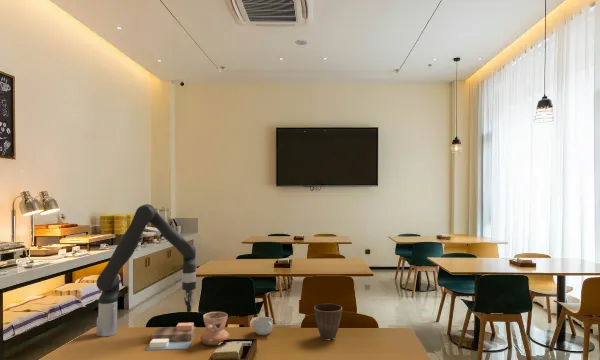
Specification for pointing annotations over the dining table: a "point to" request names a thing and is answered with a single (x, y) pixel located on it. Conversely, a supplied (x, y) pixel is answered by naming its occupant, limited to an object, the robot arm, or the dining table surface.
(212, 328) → the ceramic jug
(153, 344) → the cream block
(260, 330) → the teacup
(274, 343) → the dining table surface
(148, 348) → the rubber mat
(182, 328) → the terracotta block
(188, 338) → the walnut stand
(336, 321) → the plant pot
